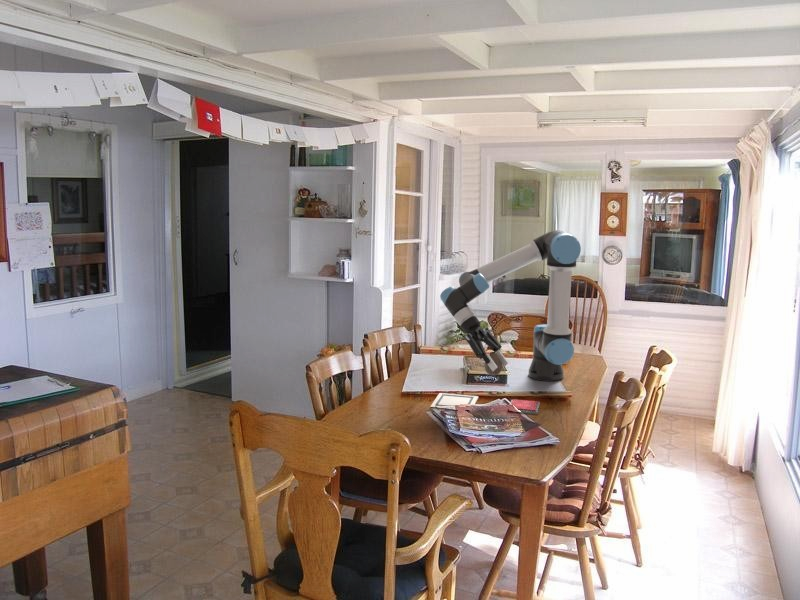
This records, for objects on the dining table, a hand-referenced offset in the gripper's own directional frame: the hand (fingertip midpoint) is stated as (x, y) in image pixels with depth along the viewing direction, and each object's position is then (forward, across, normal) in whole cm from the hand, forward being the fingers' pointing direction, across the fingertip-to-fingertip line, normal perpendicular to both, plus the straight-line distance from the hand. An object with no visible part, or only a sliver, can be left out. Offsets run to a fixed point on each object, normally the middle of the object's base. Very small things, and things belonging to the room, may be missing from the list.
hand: (500, 367), depth 268 cm
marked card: (+1, +13, -19) cm, 23 cm away
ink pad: (+18, 0, -3) cm, 18 cm away
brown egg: (0, 0, -5) cm, 5 cm away
